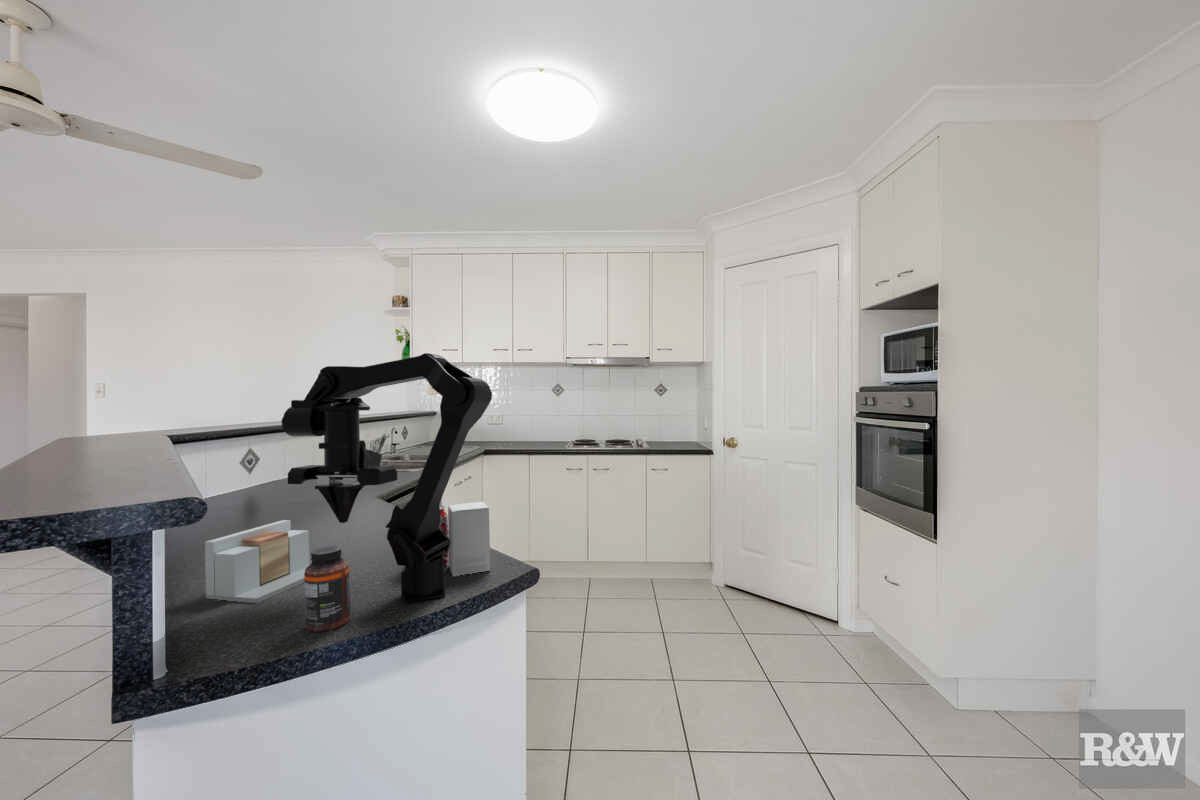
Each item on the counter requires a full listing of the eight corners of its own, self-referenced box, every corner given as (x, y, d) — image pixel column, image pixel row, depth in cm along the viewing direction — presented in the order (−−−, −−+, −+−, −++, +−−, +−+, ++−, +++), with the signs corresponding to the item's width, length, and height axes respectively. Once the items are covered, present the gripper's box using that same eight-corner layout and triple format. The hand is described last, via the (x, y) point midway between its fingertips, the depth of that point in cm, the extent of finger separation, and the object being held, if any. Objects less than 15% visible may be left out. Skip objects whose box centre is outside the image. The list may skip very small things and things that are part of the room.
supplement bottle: (340, 612, 77) (339, 541, 78) (357, 622, 74) (356, 547, 74) (298, 626, 73) (297, 550, 73) (314, 637, 69) (313, 557, 69)
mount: (328, 571, 98) (327, 521, 98) (256, 603, 82) (256, 543, 82) (283, 568, 100) (283, 520, 100) (205, 599, 84) (205, 541, 84)
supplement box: (491, 572, 95) (489, 507, 95) (451, 577, 92) (450, 511, 92) (485, 561, 102) (484, 500, 102) (448, 566, 99) (447, 504, 99)
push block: (288, 573, 94) (288, 532, 94) (260, 584, 88) (260, 540, 88) (271, 572, 95) (270, 531, 95) (242, 583, 89) (242, 539, 89)
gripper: (414, 433, 94) (415, 513, 94) (331, 434, 98) (332, 511, 98) (376, 436, 83) (377, 528, 83) (284, 437, 87) (285, 525, 87)
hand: (343, 522), depth 88 cm, fingers closed
